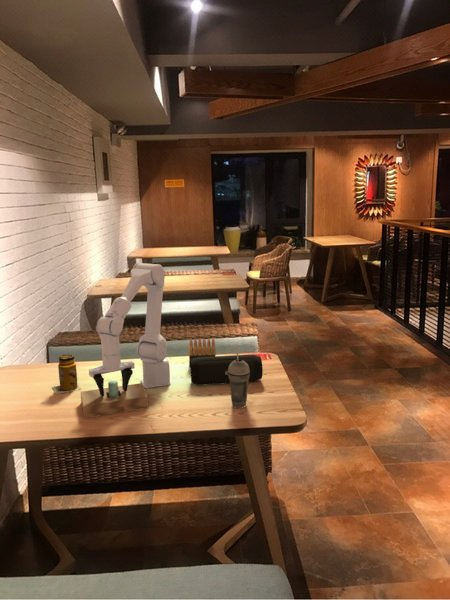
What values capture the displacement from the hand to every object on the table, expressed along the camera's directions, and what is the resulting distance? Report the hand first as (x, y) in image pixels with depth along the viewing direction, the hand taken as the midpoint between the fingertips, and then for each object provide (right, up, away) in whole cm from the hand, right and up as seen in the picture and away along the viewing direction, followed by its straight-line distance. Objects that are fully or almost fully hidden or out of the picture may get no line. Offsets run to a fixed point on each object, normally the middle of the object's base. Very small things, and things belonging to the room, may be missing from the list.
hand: (113, 392), depth 161 cm
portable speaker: (+37, 0, +20) cm, 42 cm away
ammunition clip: (+27, +3, +36) cm, 45 cm away
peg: (0, -4, +1) cm, 4 cm away
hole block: (0, -4, +1) cm, 4 cm away
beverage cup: (+41, -4, 0) cm, 41 cm away
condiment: (-20, -2, +16) cm, 26 cm away
